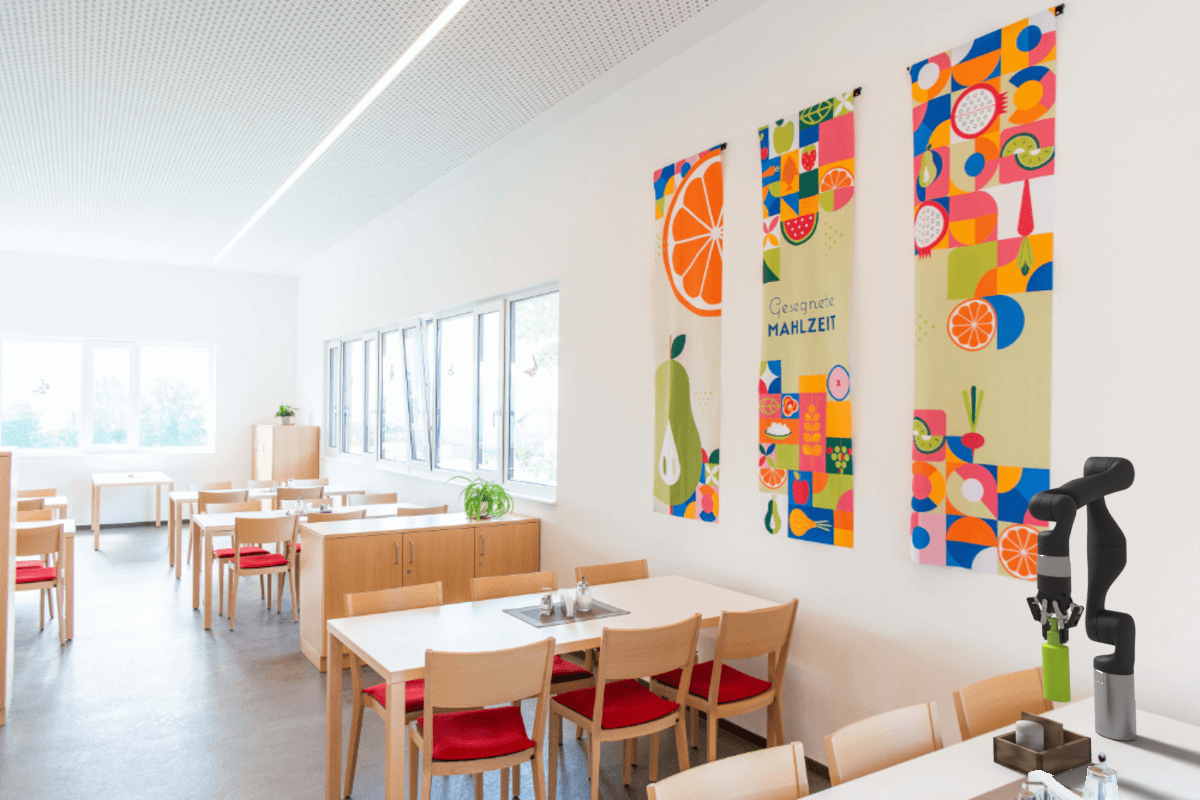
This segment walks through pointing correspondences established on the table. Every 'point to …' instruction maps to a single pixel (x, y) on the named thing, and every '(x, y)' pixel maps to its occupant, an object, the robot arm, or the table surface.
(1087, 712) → the table surface
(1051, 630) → the soap dispenser
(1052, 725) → the caddy
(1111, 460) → the robot arm
